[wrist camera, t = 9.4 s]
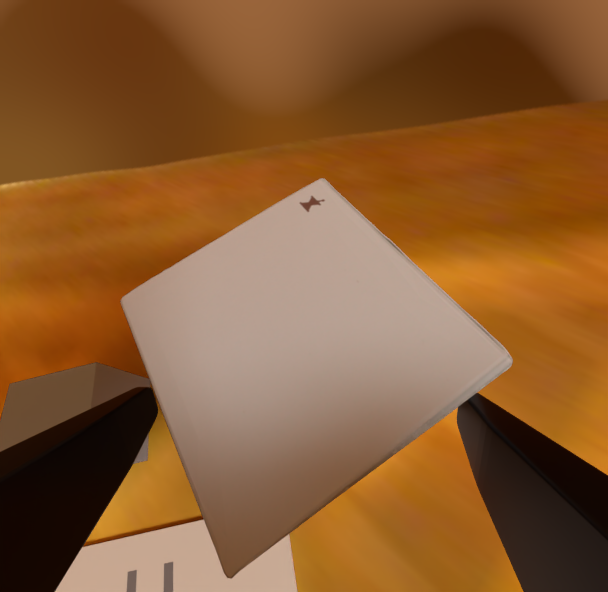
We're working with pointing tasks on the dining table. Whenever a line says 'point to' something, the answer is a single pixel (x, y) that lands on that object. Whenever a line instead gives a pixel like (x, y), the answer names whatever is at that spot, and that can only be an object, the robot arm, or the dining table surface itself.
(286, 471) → the supplement box
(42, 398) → the cube
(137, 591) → the letter
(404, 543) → the dining table surface
